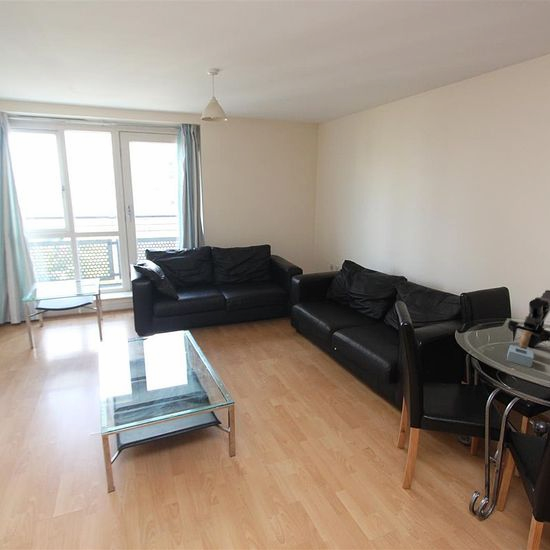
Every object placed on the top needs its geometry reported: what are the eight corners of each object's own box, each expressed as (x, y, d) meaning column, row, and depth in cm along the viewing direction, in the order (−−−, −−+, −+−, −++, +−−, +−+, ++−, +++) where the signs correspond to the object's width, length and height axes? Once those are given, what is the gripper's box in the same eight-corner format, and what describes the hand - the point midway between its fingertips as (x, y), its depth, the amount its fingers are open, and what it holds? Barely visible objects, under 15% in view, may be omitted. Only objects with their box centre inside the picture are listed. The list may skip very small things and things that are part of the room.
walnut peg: (520, 353, 194) (527, 330, 191) (526, 356, 191) (533, 332, 188) (514, 353, 194) (521, 329, 190) (520, 356, 190) (527, 332, 187)
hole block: (507, 353, 192) (510, 344, 191) (530, 360, 187) (533, 351, 185) (506, 360, 184) (509, 351, 182) (530, 367, 179) (533, 358, 177)
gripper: (513, 305, 195) (502, 329, 190) (556, 316, 183) (546, 342, 178) (513, 316, 203) (502, 340, 198) (554, 328, 191) (544, 353, 186)
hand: (523, 343), depth 190 cm, fingers open, 9 cm apart
